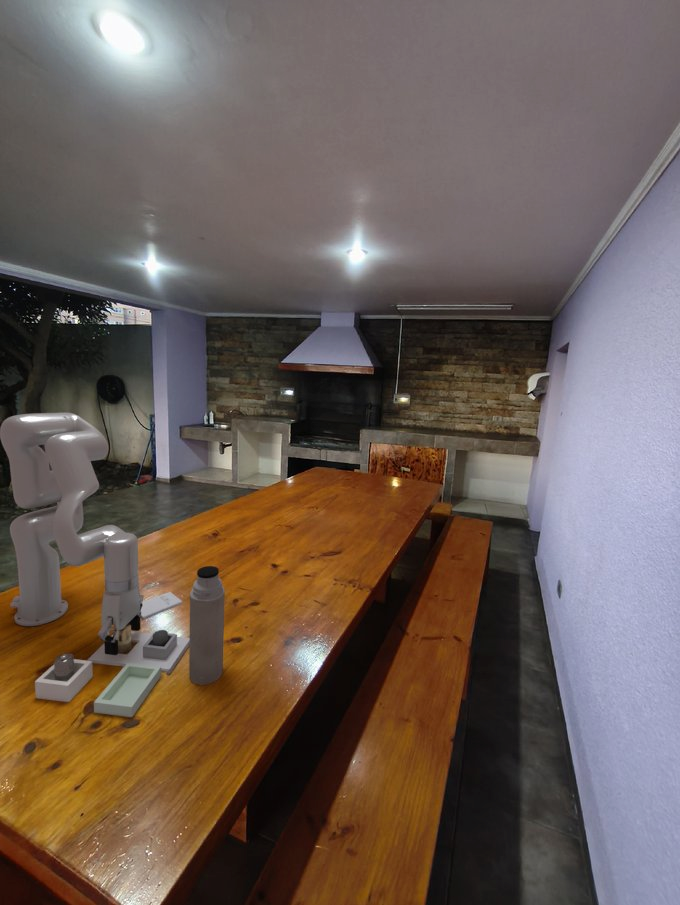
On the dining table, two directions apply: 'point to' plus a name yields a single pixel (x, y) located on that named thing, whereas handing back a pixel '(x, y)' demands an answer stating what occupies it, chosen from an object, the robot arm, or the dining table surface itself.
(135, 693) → the pale green trough
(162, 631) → the test button
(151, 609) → the external hard drive
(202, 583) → the thermos bottle
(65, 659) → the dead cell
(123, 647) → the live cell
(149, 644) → the checker
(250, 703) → the dining table surface
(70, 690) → the white open box
